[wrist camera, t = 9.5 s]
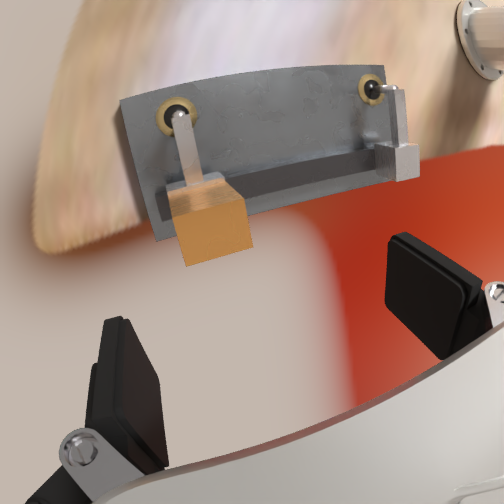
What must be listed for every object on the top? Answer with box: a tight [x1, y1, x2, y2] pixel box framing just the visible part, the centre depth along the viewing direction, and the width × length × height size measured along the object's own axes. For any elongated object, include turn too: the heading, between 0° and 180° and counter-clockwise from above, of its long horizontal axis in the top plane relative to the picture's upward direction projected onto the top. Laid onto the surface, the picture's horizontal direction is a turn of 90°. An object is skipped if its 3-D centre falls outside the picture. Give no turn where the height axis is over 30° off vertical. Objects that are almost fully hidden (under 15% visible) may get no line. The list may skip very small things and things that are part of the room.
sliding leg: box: [166, 111, 253, 266], centre depth 20 cm, size 4×9×8 cm, turn 11°
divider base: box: [119, 65, 420, 241], centre depth 24 cm, size 24×12×6 cm, turn 101°
